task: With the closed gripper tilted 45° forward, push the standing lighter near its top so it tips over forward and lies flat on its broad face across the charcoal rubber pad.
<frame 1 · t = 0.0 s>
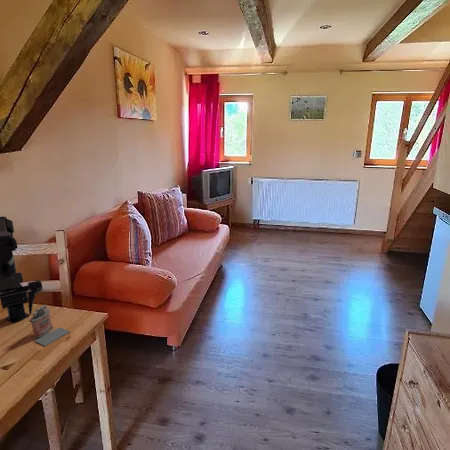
hand: (13, 318, 108), 15 cm above the table, tool tilted 35°, fingers open, 9 cm apart
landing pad: (52, 336, 124), on the table
lighter: (43, 333, 127), on the table
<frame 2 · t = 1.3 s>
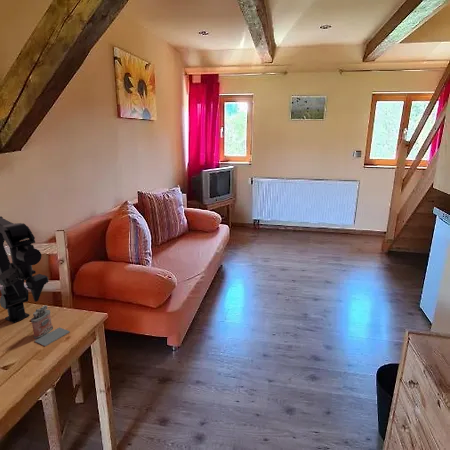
hand: (28, 298, 126), 13 cm above the table, tool pointing down, fingers open, 9 cm apart
nothing on the table moved.
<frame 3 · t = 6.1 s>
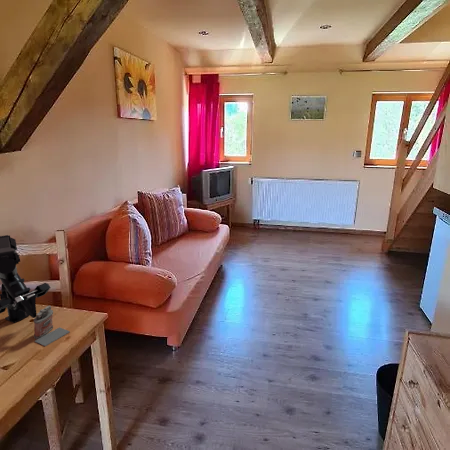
hand: (35, 317, 122), 8 cm above the table, tool tilted 45°, fingers closed
lighter: (43, 332, 127), on the table, touching gripper
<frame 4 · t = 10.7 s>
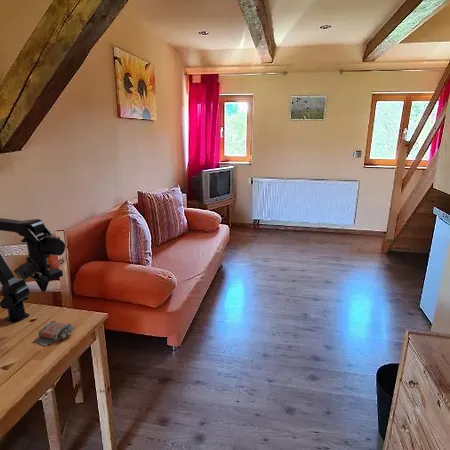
hand: (43, 291, 131), 13 cm above the table, tool pointing down, fingers closed
lighter: (46, 328, 126), point 2 cm above the table, touching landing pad
at the end: lighter tilted 90°; lighter inside the target area (3.3 cm from its centre), point 2.0 cm above the table; the gripper is holding nothing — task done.
